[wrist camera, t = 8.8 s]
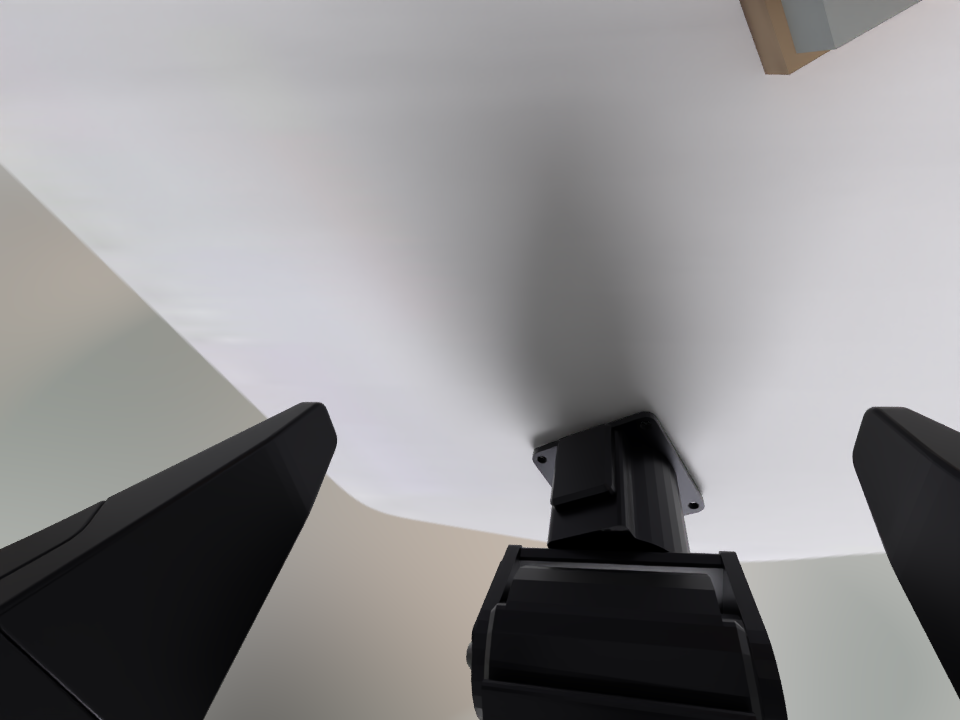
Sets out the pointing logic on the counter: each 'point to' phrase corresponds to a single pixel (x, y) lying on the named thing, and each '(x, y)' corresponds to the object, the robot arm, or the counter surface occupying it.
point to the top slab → (836, 20)
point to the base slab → (774, 37)
